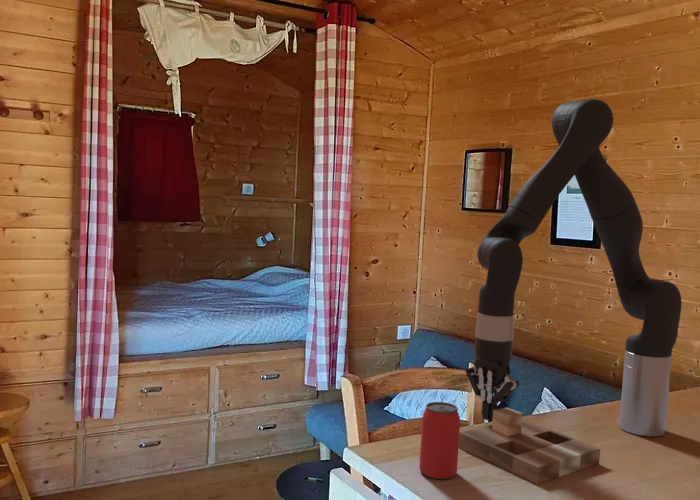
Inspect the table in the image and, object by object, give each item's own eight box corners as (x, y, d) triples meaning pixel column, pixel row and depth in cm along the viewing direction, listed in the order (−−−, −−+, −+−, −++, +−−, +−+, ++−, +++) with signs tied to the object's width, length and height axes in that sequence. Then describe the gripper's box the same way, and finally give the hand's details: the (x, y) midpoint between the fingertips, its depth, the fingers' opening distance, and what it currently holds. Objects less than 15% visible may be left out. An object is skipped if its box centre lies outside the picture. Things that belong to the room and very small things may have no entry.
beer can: (433, 483, 113) (437, 414, 112) (412, 468, 119) (415, 402, 118) (464, 477, 116) (468, 410, 115) (442, 463, 122) (446, 399, 121)
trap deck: (519, 432, 141) (520, 418, 140) (599, 464, 125) (600, 448, 125) (458, 447, 130) (459, 432, 130) (536, 484, 115) (538, 467, 115)
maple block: (505, 426, 135) (506, 407, 134) (521, 432, 131) (522, 413, 131) (491, 429, 132) (493, 410, 132) (507, 436, 129) (508, 416, 129)
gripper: (532, 340, 131) (526, 426, 133) (483, 328, 142) (478, 407, 143) (506, 344, 127) (500, 432, 128) (457, 331, 138) (452, 412, 139)
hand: (488, 419), depth 136 cm, fingers closed
